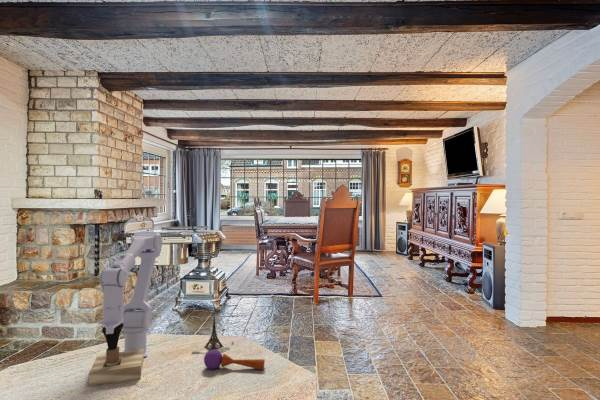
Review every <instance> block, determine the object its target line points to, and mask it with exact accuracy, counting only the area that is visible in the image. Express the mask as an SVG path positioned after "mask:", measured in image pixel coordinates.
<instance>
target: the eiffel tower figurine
mask: <svg viewBox="0 0 600 400" xmlns="http://www.w3.org/2000/svg"><path fill="white" fill-rule="evenodd" d="M212 319H213V320H212V321H213V322H212V331H211V335H210V338H209V339H208V341H207V343H206V344H205V346H204V347H203V348H204V349H206V350H208V351H210V350H218V351H220V352H221V354H222V353H223V354H225V353H226V352H229V351H230V350H231V348H230V347H227V346H226V347H224V345H223V344H222V342H221V341H220V339H219V338H218V337H219V336H218V335H217V334H218V333H217V330H216V316H215V315H213V317H212ZM234 343H235V342H234V341H231V346H234ZM208 351H206V352H205V354H206V353H207V352H208ZM191 354H193V355H195V354H196V355H198V354H203V352H200V351H197V350H196V351H191Z"/></svg>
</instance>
